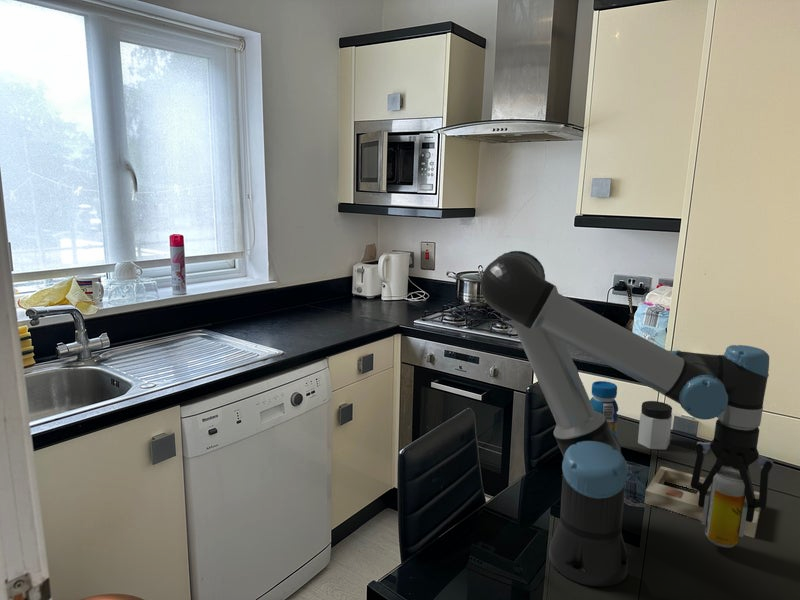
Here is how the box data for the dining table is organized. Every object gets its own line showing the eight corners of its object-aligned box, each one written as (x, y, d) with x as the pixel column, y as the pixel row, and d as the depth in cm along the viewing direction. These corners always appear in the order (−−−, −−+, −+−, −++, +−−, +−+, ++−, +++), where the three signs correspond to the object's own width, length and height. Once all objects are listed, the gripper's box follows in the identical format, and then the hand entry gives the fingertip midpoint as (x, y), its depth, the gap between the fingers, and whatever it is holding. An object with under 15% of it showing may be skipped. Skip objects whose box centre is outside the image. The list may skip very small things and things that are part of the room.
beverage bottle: (580, 451, 162) (584, 385, 158) (590, 441, 169) (594, 377, 165) (610, 459, 157) (615, 391, 153) (619, 449, 164) (624, 383, 160)
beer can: (742, 551, 114) (752, 483, 111) (709, 546, 115) (719, 479, 112) (731, 533, 120) (741, 468, 117) (700, 529, 121) (709, 465, 118)
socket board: (644, 504, 135) (645, 489, 134) (659, 478, 147) (660, 464, 146) (754, 538, 122) (756, 522, 121) (761, 506, 134) (763, 492, 133)
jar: (664, 438, 171) (667, 401, 169) (674, 450, 163) (678, 411, 161) (633, 437, 172) (636, 400, 170) (642, 449, 164) (645, 410, 162)
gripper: (796, 429, 110) (778, 536, 114) (689, 406, 121) (676, 504, 125) (794, 442, 104) (776, 554, 108) (681, 416, 115) (669, 519, 120)
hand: (722, 527), depth 117 cm, fingers closed on beer can, 6 cm apart
